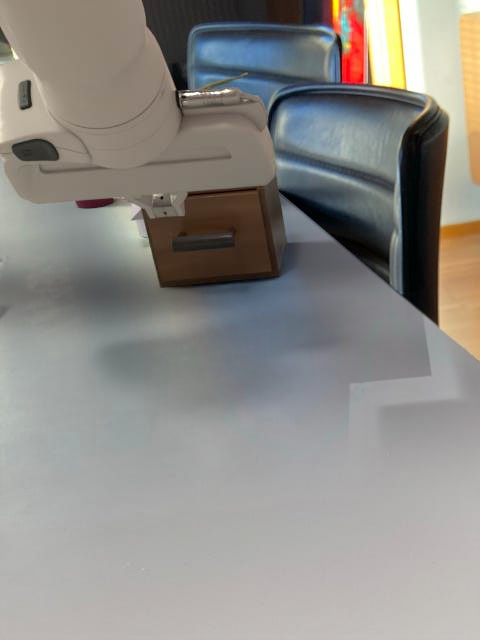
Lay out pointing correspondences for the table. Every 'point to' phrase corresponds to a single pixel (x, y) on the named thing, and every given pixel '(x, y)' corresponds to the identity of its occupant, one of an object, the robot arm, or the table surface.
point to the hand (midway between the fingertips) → (167, 209)
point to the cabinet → (273, 232)
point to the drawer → (212, 237)
